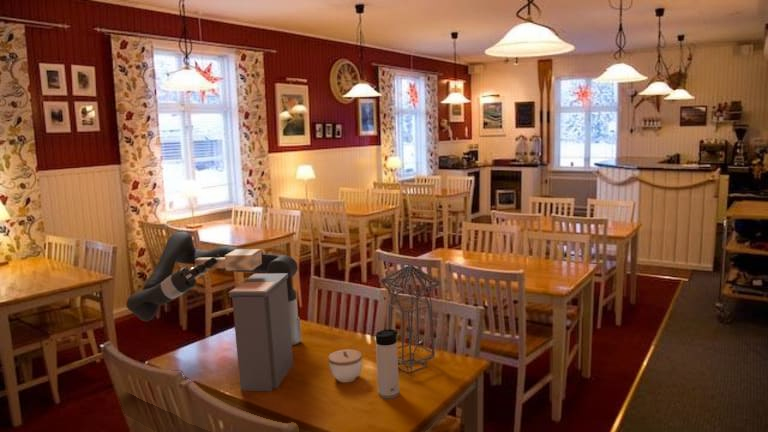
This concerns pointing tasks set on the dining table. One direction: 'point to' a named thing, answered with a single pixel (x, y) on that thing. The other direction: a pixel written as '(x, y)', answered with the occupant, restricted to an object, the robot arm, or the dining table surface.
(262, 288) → the tall grey pillar box
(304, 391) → the dining table surface
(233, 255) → the beech mallet
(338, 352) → the lidded jar
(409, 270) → the geometric lantern
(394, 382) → the travel mug
